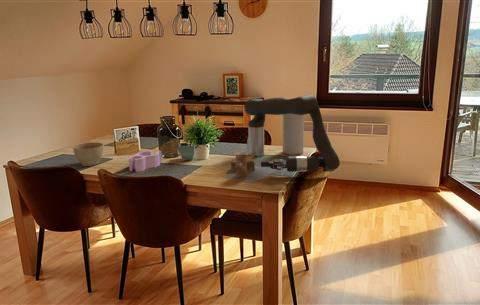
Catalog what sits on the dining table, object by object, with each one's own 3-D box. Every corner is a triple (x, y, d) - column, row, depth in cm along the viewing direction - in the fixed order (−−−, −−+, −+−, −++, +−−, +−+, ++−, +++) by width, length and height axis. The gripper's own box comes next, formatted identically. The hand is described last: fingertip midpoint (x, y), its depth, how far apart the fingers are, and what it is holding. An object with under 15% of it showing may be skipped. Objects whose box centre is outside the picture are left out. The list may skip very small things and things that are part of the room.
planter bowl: (68, 166, 219) (66, 147, 217) (88, 159, 234) (86, 141, 231) (92, 169, 214) (89, 149, 211) (111, 161, 229) (109, 143, 226)
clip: (142, 173, 205) (141, 160, 204) (124, 170, 211) (122, 158, 209) (165, 163, 223) (164, 151, 221) (147, 161, 228) (147, 149, 226)
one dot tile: (236, 178, 190) (235, 154, 187) (236, 175, 195) (236, 152, 192) (246, 178, 190) (246, 154, 187) (246, 175, 195) (246, 151, 192)
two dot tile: (254, 171, 201) (231, 171, 202) (254, 168, 206) (231, 168, 207) (254, 161, 200) (230, 162, 201) (254, 159, 205) (231, 159, 206)
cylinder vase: (279, 151, 243) (279, 111, 237) (296, 149, 248) (297, 109, 242) (289, 155, 232) (289, 113, 226) (307, 153, 237) (308, 112, 231)
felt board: (222, 178, 194) (222, 176, 193) (251, 166, 213) (251, 165, 213) (250, 184, 184) (250, 183, 183) (278, 171, 203) (278, 169, 203)
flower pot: (180, 157, 234) (179, 142, 232) (195, 156, 235) (194, 142, 232) (179, 161, 225) (178, 146, 223) (195, 160, 226) (194, 145, 224)
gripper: (298, 175, 185) (261, 175, 185) (295, 167, 197) (260, 167, 198) (298, 159, 183) (261, 160, 183) (295, 152, 196) (260, 153, 196)
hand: (260, 164), depth 191 cm, fingers closed
